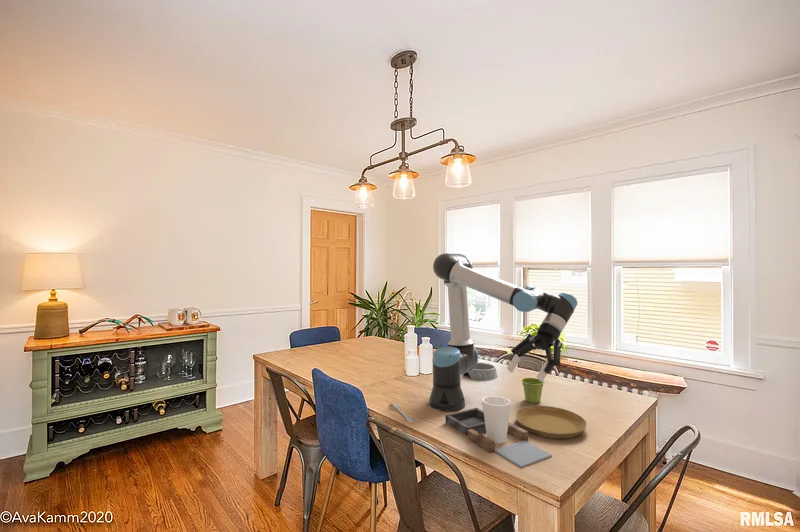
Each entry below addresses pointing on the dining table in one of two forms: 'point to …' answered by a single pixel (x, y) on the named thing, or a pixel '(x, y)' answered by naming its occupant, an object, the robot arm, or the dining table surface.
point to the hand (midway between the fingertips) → (523, 374)
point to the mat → (523, 453)
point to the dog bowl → (483, 372)
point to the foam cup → (496, 417)
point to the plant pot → (532, 389)
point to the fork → (402, 412)
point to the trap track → (479, 428)
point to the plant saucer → (550, 421)
